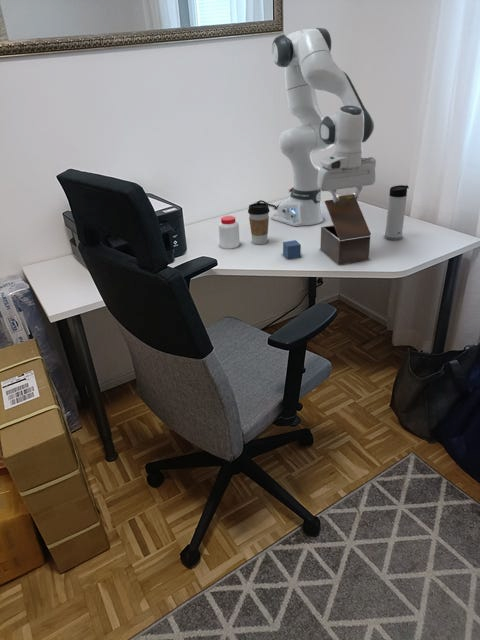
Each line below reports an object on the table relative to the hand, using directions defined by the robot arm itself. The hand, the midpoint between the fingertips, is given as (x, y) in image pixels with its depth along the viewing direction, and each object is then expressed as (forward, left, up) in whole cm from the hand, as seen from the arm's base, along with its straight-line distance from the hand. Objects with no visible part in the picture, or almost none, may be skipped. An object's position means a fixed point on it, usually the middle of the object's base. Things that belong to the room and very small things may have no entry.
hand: (345, 200), depth 171 cm
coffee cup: (-33, -7, -20) cm, 39 cm away
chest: (+1, -1, -20) cm, 20 cm away
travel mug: (+9, +24, -20) cm, 33 cm away
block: (-14, -12, -20) cm, 27 cm away
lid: (+2, -1, -6) cm, 6 cm away
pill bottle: (-41, -16, -20) cm, 48 cm away
